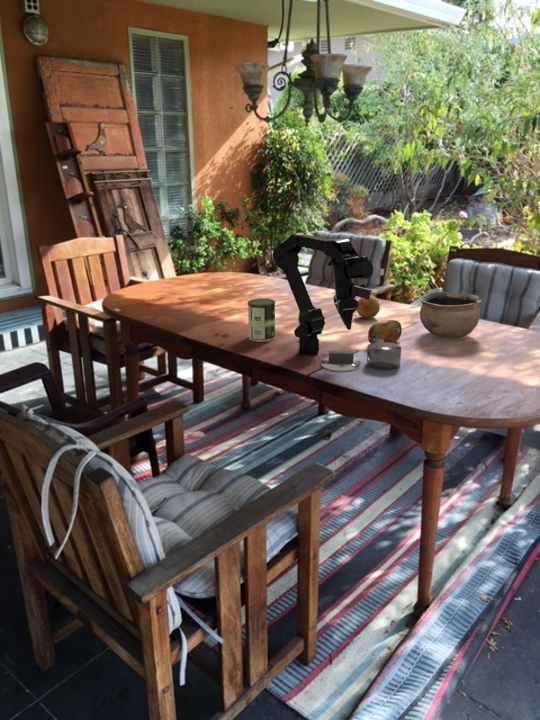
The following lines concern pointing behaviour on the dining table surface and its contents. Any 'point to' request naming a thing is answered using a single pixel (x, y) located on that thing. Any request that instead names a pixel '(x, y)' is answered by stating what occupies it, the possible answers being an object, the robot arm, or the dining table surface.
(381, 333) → the tin
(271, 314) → the coffee can
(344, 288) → the robot arm
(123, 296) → the dining table surface
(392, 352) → the pot
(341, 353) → the lid
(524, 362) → the dining table surface
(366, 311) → the onion
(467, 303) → the ceramic bowl
